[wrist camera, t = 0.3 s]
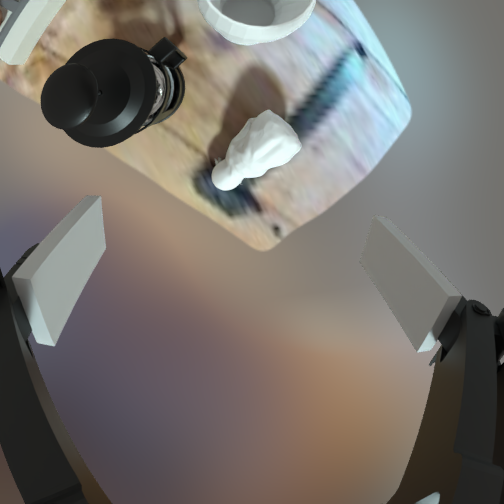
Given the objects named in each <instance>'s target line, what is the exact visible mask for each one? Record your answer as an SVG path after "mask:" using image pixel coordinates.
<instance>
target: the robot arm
mask: <svg viewBox="0 0 504 504" xmlns="http://www.w3.org/2000/svg"><path fill="white" fill-rule="evenodd" d="M105 249H106V243H105V235H104V226H103V215H102V203H101V196H86V197H85V198H84V199H83V200H82V201H80V202H79V203H78V204H77V205H76V206H75V207H74V208H73V209H72V210H71V211H70V212H69V213H68V214H67V216H65V217H64V219H62V221H61V222H60V223H59V224H58V225H57V226H56V227H55V228H54V229H53V230H52V231H51V232H50V233H49V234H48V235H47V236H46V238H45V239H44V240H43V241H42V242H41V243H38V244H36V245H34V246H32V247H31V248H29V249H28V250H27V251H26V252H25V253H24V255H23V256H22V257H21V258H20V259H19V260H18V261H17V262H16V264H15V265H14V266H13V267H12V268H11V270H10V271H9V272H8V273H7V274H6V276H5V277H4V278H3V276H2V272H1V269H0V444H1V447H2V449H3V452H4V455H5V458H6V461H7V463H8V466H9V468H10V471H11V473H12V475H13V478H14V480H15V482H16V485H17V487H18V489H19V491H20V493H21V495H22V498H23V500H24V502H25V504H112V503H111V501H110V500H109V498H108V497H107V495H106V494H105V493H104V491H103V490H102V488H101V487H100V486H99V484H98V482H97V481H96V479H95V478H94V476H93V475H92V473H91V472H90V470H89V469H88V467H87V466H86V464H85V462H84V460H83V459H82V457H81V455H80V454H79V452H78V450H77V448H76V447H75V445H74V443H73V441H72V440H71V438H70V436H69V434H68V432H67V430H66V428H65V426H64V424H63V422H62V420H61V418H60V416H59V414H58V412H57V410H56V408H55V406H54V403H53V401H52V399H51V397H50V394H49V392H48V390H47V387H46V385H45V383H44V380H43V378H42V375H41V373H40V370H39V367H38V365H37V362H36V359H35V356H34V354H33V351H32V348H31V345H30V343H29V341H28V336H29V335H30V333H31V331H32V332H33V334H34V336H35V339H36V341H37V343H41V344H46V345H51V346H55V345H56V342H57V340H58V338H59V336H60V334H61V331H62V329H63V327H64V325H65V323H66V321H67V319H68V317H69V315H70V313H71V311H72V309H73V307H74V305H75V303H76V301H77V299H78V297H79V296H80V294H81V292H82V290H83V288H84V286H85V284H86V282H87V281H88V279H89V277H90V275H91V273H92V272H93V270H94V268H95V266H96V265H97V263H98V261H99V259H100V258H101V256H102V254H103V253H104V251H105ZM359 262H360V264H361V265H362V267H363V268H364V270H365V271H366V273H367V274H368V276H369V277H370V279H371V280H372V282H373V283H374V285H375V286H376V288H377V289H378V291H379V292H380V294H381V295H382V296H383V298H384V300H385V301H386V303H387V304H388V306H389V308H390V309H391V311H392V312H393V314H394V315H395V317H396V319H397V320H398V322H399V323H400V325H401V327H402V328H403V330H404V332H405V333H406V335H407V337H408V338H409V340H410V341H411V343H412V345H413V346H414V348H415V350H416V352H422V351H429V350H431V349H432V347H433V346H434V344H435V343H436V341H437V339H438V340H439V341H440V343H441V344H442V345H441V347H440V348H439V350H438V351H437V353H436V354H435V356H434V357H433V359H432V360H431V362H430V364H429V365H430V366H431V365H432V363H434V362H435V367H434V373H433V378H432V382H431V387H430V392H429V395H428V400H427V404H426V408H425V411H424V415H423V419H422V422H421V426H420V429H419V433H418V436H417V439H416V442H415V445H414V448H413V451H412V454H411V457H410V460H409V462H408V465H407V468H406V470H405V474H404V476H403V478H402V481H401V483H400V486H399V488H398V490H397V491H396V493H395V494H394V495H393V497H392V498H391V499H390V500H389V501H388V502H387V504H504V363H503V364H502V365H501V363H500V359H501V358H502V356H503V355H504V308H503V309H502V311H501V313H500V314H499V316H498V317H496V316H492V314H491V312H490V310H489V309H488V308H487V307H486V306H485V305H483V304H482V303H480V302H479V301H476V300H469V301H467V300H466V299H465V298H464V297H463V296H462V294H461V293H460V292H459V291H458V290H457V289H456V288H455V287H454V285H453V284H452V283H451V282H450V281H449V280H448V279H447V278H446V276H444V275H443V273H442V272H441V271H440V270H439V269H438V268H437V267H436V266H435V265H434V264H433V263H432V262H431V261H430V260H429V259H428V258H427V257H426V256H425V255H424V254H423V253H422V252H421V250H420V249H419V248H418V247H416V245H415V244H413V242H411V240H409V238H407V237H406V236H405V235H404V234H403V233H402V232H401V231H400V230H399V229H398V228H397V227H396V226H395V225H394V224H393V223H392V222H391V221H390V220H389V219H388V218H387V217H383V216H375V215H374V216H373V219H372V223H371V226H370V230H369V233H368V236H367V239H366V243H365V246H364V249H363V252H362V255H361V258H360V261H359Z"/></svg>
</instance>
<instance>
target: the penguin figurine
mask: <svg viewBox="0 0 504 504" xmlns="http://www.w3.org/2000/svg"><path fill="white" fill-rule="evenodd" d="M301 145H302V144H301V142H300V141H299V139H298V135H297V134H296V133H295V132H294V130H293V129H292V127H291V126H290V125H289V124H288V123H286V122H285V121H284V120H283V119H282V118H281V117H280V116H278V115H276V114H274V113H273V112H272V111H271V110H266V111H264V112H263V113H261V114H259V115H258V116H257V117H256V118H250V119H248V121H247V122H246V124H245V126H244V127H243V128H242V130H241V131H240V132H239V133H238V135H237V136H235V137H234V138H233V139H232V141H231V142H230V145H229V147H228V150H227V153H226V158H225V159H223V160H222V161H221V159H222V158H220V160H219V163H218V161H217V159H216V160H215V162H216V161H217V162H216V163H215V164H216V166H215V167H214V169H213V171H212V181H213V183H214V185H215V186H216V187H217V188H219V189H221V190H231V189H233V188H235V187H236V186H237V185H238V184H241V183H242V182H241V181H242V179H243V178H254V177H259V176H261V175H263V174H264V173H265V172H266V171H267V170H268V169H269V168H273V167H277V166H280V165H283V164H285V163H287V162H288V161H289V160H290V159H291V158H292V157H293V156H294V155H295V154H296V153H297V152H299V150H300V149H301ZM218 159H219V156H218ZM242 185H243V184H242Z"/></svg>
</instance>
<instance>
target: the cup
mask: <svg viewBox="0 0 504 504" xmlns="http://www.w3.org/2000/svg"><path fill="white" fill-rule="evenodd" d="M197 1H198V6H199V9H200V11H201V13H202V15H203V17H204V18H205V20H206V22H207V23H208V24H210V25H211V26H212V27H213V28H214V29H215V30H216V31H217V32H219V33H220V34H221V35H222V36H223V37H224V38H225V39H227V40H229V41H231V42H233V43H236V44H239V45H253V44H257V43H265V42H272V41H275V40H278V39H281V38H284V37H286V36H287V35H289V34H290V33H292V32H293V31H295V30H297V29H298V28H299V27H301V26H302V25H303V24H304V23H305V21H306V20H307V19H308V18H309V17H310V15H311V13H312V11H313V9H314V6H315V3H316V0H197Z"/></svg>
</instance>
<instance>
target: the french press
mask: <svg viewBox="0 0 504 504" xmlns="http://www.w3.org/2000/svg"><path fill="white" fill-rule="evenodd" d="M145 52H146V53H148V54H149V55H146V54H145ZM186 59H187V57H186V55H185V54H184V53H183V52H181V51H180V50H179V49H178V48H177V47H176V46H175V45H174V44H173V43H172V42H171V41H170V40H169V39H167V38H166V37H164V38H162V39H161V40H160V41H159V42H158V43H157V44H156V45H155V46H154V47H152V48H151V49H150V50H149V51H147V50H145V49H142V48H140V47H137V46H136V45H135V44H132V43H130V42H127V41H125V40H120V39H103V40H99V41H96V42H93V43H91V44H89V45H87V46H85V47H83V48H82V49H80V50H79V51H78V52H76V53H75V54H74V55H73V56H72V57H71V58H70V59H69V60H68V61H67V63H66V64H65V65H64V66H62V67H60V68H58V69H57V70H56V71H54V72H53V73H52V74H51V75H50V77H49V78H48V79H47V81H46V83H45V85H44V87H43V90H42V94H41V109H42V112H43V114H44V117H45V118H46V120H47V121H48V122H49V123H50V124H51V125H52V126H54V127H56V128H59V129H63V130H64V131H65V132H66V133H67V135H68V136H70V137H71V138H72V139H73V140H75V141H76V142H78V143H80V144H83V145H86V146H89V147H100V148H103V147H108V146H113V145H116V144H118V143H121V142H123V141H125V140H126V139H128V138H129V137H131V136H132V135H134V134H136V133H139V132H140V131H142V130H144V129H145V128H147V127H149V126H151V125H153V124H157V123H160V122H162V121H164V120H166V119H168V118H169V117H170V116H172V115H173V114H174V113H175V112H176V110H177V109H178V108H179V106H180V104H181V103H182V100H183V97H184V93H185V81H184V77H183V74H182V73H181V71H180V69H179V68H178V66H179V65H180V64H181V63H183V62H184V61H185V60H186ZM174 87H175V90H174ZM173 92H174V95H173ZM172 97H173V98H172ZM142 126H145V127H143V128H142V129H140V128H141V127H142ZM139 129H140V130H139Z"/></svg>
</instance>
